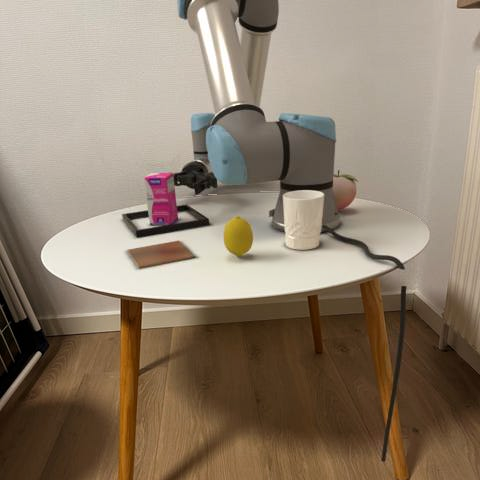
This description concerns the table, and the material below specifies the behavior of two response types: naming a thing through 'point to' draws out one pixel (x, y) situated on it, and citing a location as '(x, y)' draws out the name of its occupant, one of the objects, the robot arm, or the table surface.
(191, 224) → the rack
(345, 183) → the decorative fruit
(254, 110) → the robot arm
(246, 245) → the lemon
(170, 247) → the mat
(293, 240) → the white cup
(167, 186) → the supplement box
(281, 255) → the table surface
